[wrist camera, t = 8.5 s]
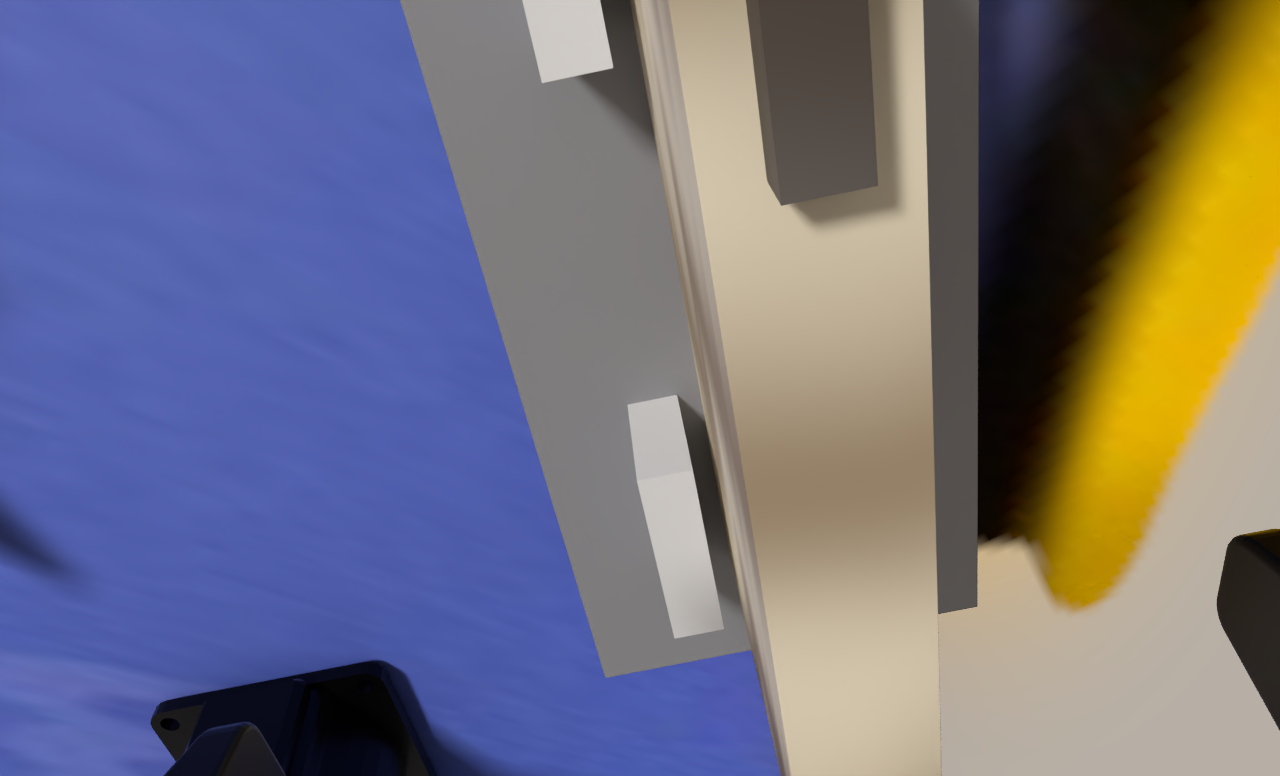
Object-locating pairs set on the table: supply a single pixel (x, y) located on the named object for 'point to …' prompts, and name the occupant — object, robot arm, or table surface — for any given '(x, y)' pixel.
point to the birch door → (812, 352)
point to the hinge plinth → (657, 304)
